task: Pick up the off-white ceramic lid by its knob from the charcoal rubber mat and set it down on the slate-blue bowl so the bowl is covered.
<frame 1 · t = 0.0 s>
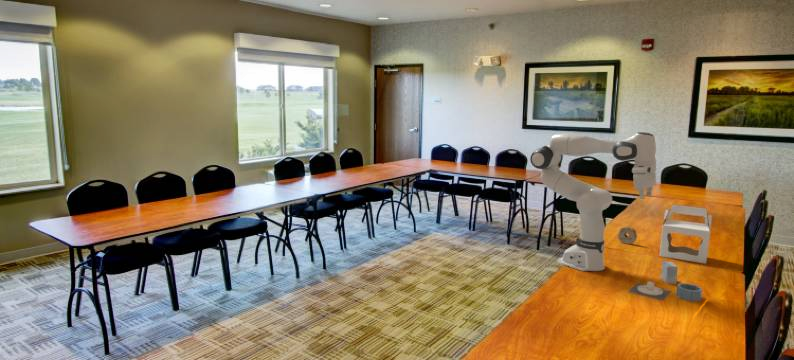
hand: (645, 197, 234), 39 cm above the table, tool pointing down, fingers open, 8 cm apart
stone disc: (626, 243, 299), on the table
lid: (649, 291, 222), point 1 cm above the table, touching mat
bowl: (688, 298, 217), on the table
medicine box: (668, 282, 236), on the table
gable box: (683, 257, 275), on the table
mat: (649, 292, 222), on the table
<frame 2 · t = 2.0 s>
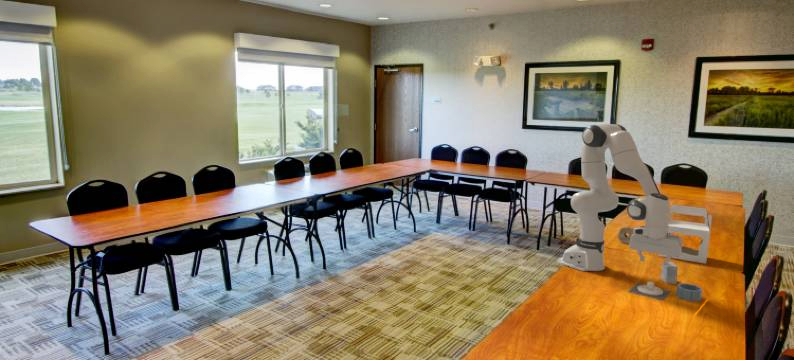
hand: (653, 262, 220), 14 cm above the table, tool pointing down, fingers open, 8 cm apart
nothing on the table moved.
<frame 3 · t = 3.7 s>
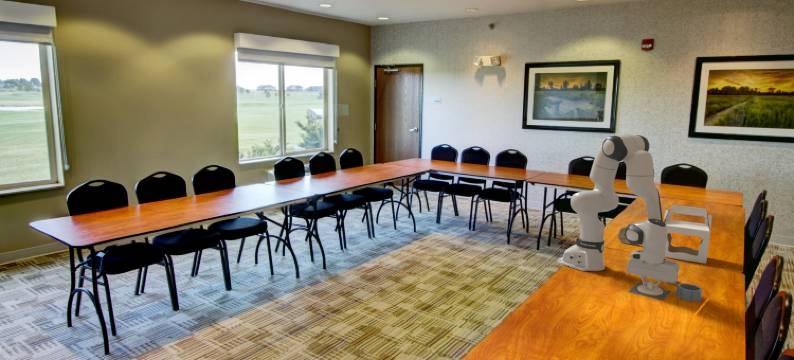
hand: (650, 287, 222), 2 cm above the table, tool pointing down, fingers closed on lid, 3 cm apart
lid: (649, 291, 222), point 1 cm above the table, touching gripper, mat
everything else where it was.
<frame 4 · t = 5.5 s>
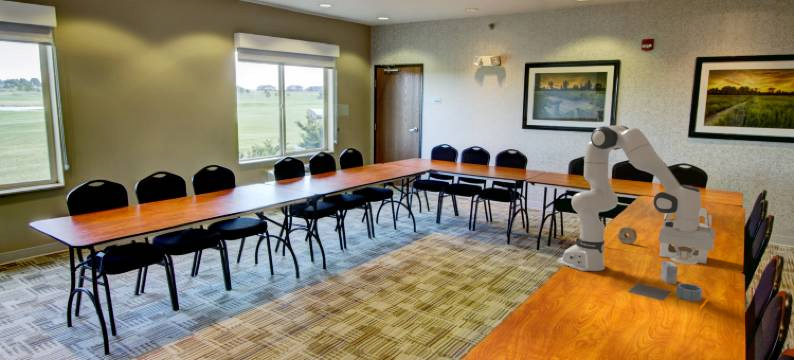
hand: (684, 256, 214), 18 cm above the table, tool pointing down, fingers closed on lid, 3 cm apart
lid: (683, 261, 214), point 16 cm above the table, touching gripper
everything else where it was.
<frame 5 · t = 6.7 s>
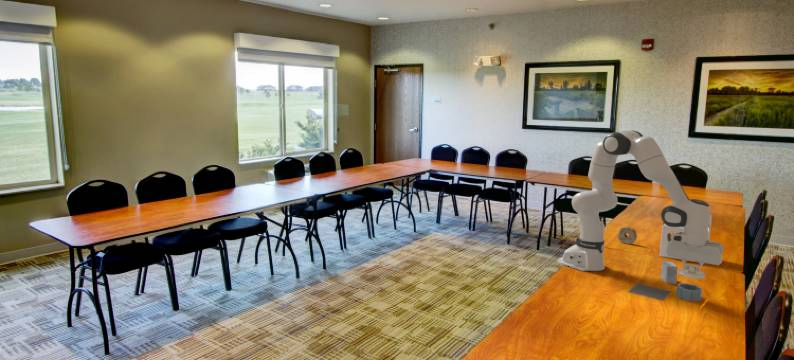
hand: (691, 270, 214), 13 cm above the table, tool pointing down, fingers closed on lid, 3 cm apart
lid: (691, 274, 215), point 11 cm above the table, touching gripper
everything else where it was.
when the fingers open (8 cm above the table, at t = 7.6 s): lid drops 1 cm, resting on bowl.
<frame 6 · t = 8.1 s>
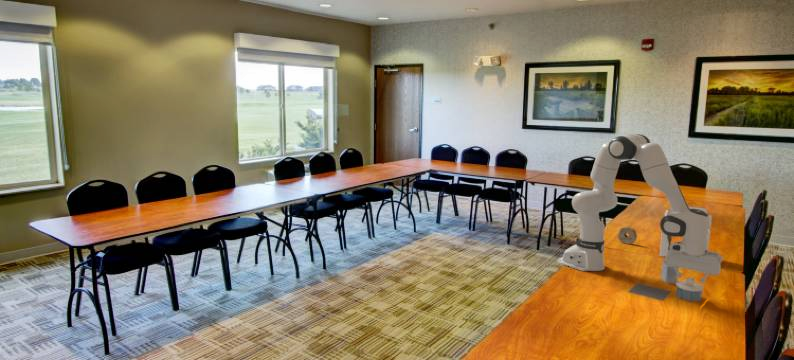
hand: (690, 279, 215), 8 cm above the table, tool pointing down, fingers open, 8 cm apart
lid: (689, 287, 216), point 5 cm above the table, touching bowl
bowl: (688, 298, 217), on the table, touching lid
everything else where it was.
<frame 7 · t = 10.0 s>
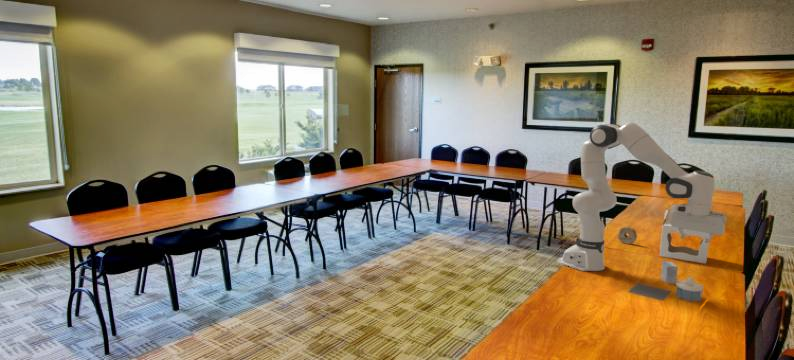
hand: (695, 240, 219), 24 cm above the table, tool pointing down, fingers open, 8 cm apart
nothing on the table moved.
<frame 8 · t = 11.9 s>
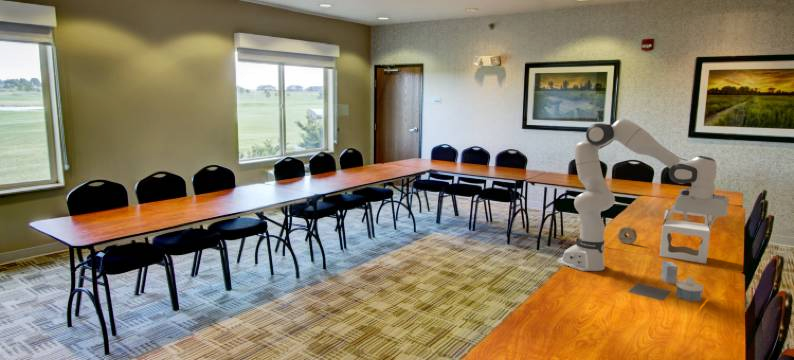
hand: (698, 223, 228), 29 cm above the table, tool pointing down, fingers open, 8 cm apart
nothing on the table moved.
at the end: lid 0.1 cm off-centre on the bowl, point 5.0 cm above the bowl's base; the gripper is holding nothing; bowl tilted 0° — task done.
